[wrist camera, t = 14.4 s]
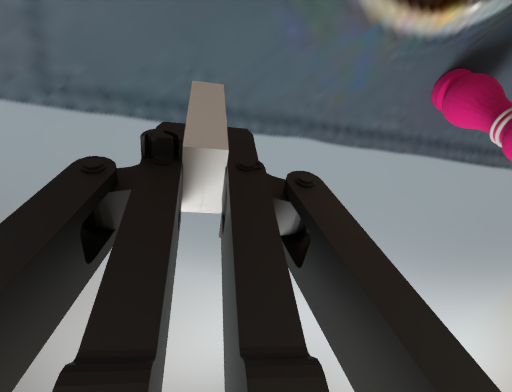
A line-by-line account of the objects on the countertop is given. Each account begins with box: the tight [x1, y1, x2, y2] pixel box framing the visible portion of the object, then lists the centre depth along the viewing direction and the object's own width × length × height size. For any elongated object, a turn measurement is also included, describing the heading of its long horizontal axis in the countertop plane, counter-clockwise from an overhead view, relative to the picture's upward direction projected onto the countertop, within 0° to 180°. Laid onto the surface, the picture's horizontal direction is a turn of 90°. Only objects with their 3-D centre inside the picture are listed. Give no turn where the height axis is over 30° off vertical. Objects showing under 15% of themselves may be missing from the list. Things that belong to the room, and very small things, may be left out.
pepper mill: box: [432, 68, 512, 161], centre depth 41 cm, size 7×7×20 cm
